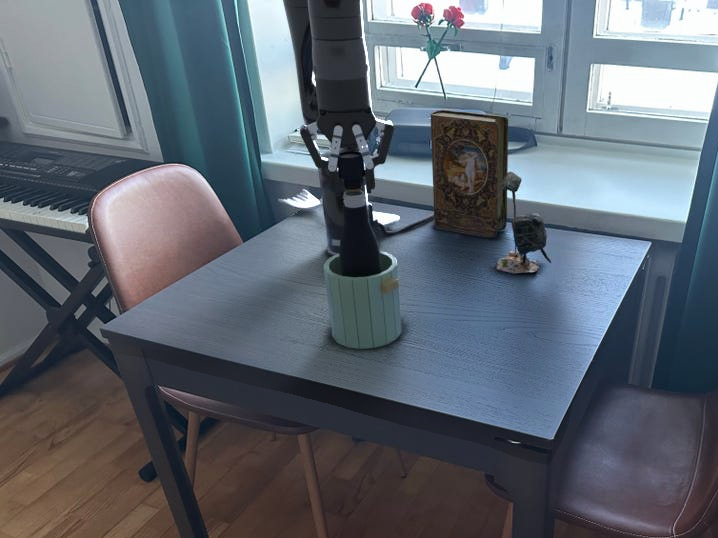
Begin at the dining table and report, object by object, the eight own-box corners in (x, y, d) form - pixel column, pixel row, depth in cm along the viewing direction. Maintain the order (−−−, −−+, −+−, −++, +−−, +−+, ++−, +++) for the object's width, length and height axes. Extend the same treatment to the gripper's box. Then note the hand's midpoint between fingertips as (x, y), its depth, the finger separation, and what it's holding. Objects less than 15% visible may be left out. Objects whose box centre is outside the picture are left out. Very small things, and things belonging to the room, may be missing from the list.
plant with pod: (538, 282, 135) (543, 180, 124) (487, 270, 140) (488, 171, 129) (556, 267, 141) (562, 169, 130) (507, 256, 146) (509, 160, 135)
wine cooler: (363, 306, 126) (357, 242, 120) (420, 330, 119) (417, 263, 112) (313, 331, 119) (303, 264, 112) (371, 358, 111) (364, 288, 105)
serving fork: (304, 200, 175) (302, 187, 173) (407, 224, 161) (407, 210, 159) (278, 211, 169) (276, 197, 167) (383, 237, 154) (382, 222, 153)
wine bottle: (379, 342, 116) (363, 161, 100) (342, 338, 117) (320, 159, 101) (391, 324, 121) (377, 149, 105) (355, 320, 122) (337, 147, 106)
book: (431, 227, 159) (426, 114, 146) (442, 219, 164) (438, 109, 150) (496, 239, 154) (498, 122, 140) (506, 230, 158) (509, 116, 145)
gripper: (390, 66, 101) (397, 182, 110) (289, 69, 99) (305, 188, 108) (395, 75, 95) (402, 197, 104) (288, 79, 93) (305, 204, 102)
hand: (353, 192), depth 106 cm, fingers closed on wine bottle, 4 cm apart
